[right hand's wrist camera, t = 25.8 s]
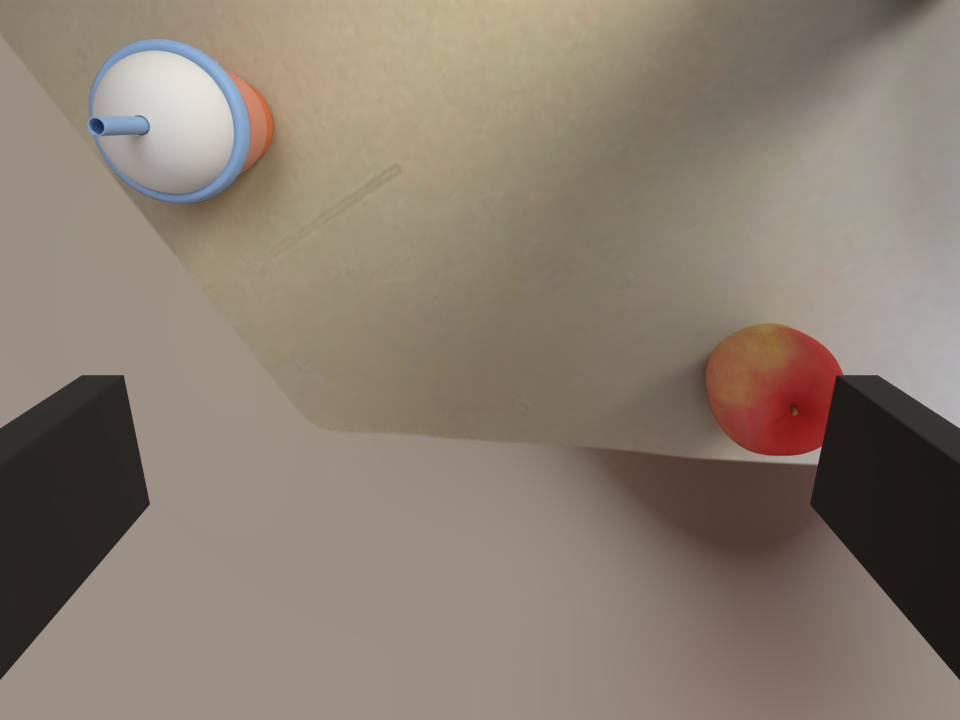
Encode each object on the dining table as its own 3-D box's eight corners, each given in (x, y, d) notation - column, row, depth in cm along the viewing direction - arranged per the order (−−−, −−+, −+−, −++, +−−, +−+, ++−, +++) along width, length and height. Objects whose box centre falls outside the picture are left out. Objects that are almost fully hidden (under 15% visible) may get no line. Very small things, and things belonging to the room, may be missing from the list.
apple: (819, 317, 53) (892, 360, 44) (783, 423, 56) (843, 484, 47) (703, 300, 52) (752, 340, 43) (674, 407, 56) (713, 466, 46)
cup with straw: (200, 201, 50) (56, 245, 33) (147, 76, 47) (-42, 53, 30) (312, 167, 49) (223, 194, 32) (266, 37, 46) (141, -9, 29)
